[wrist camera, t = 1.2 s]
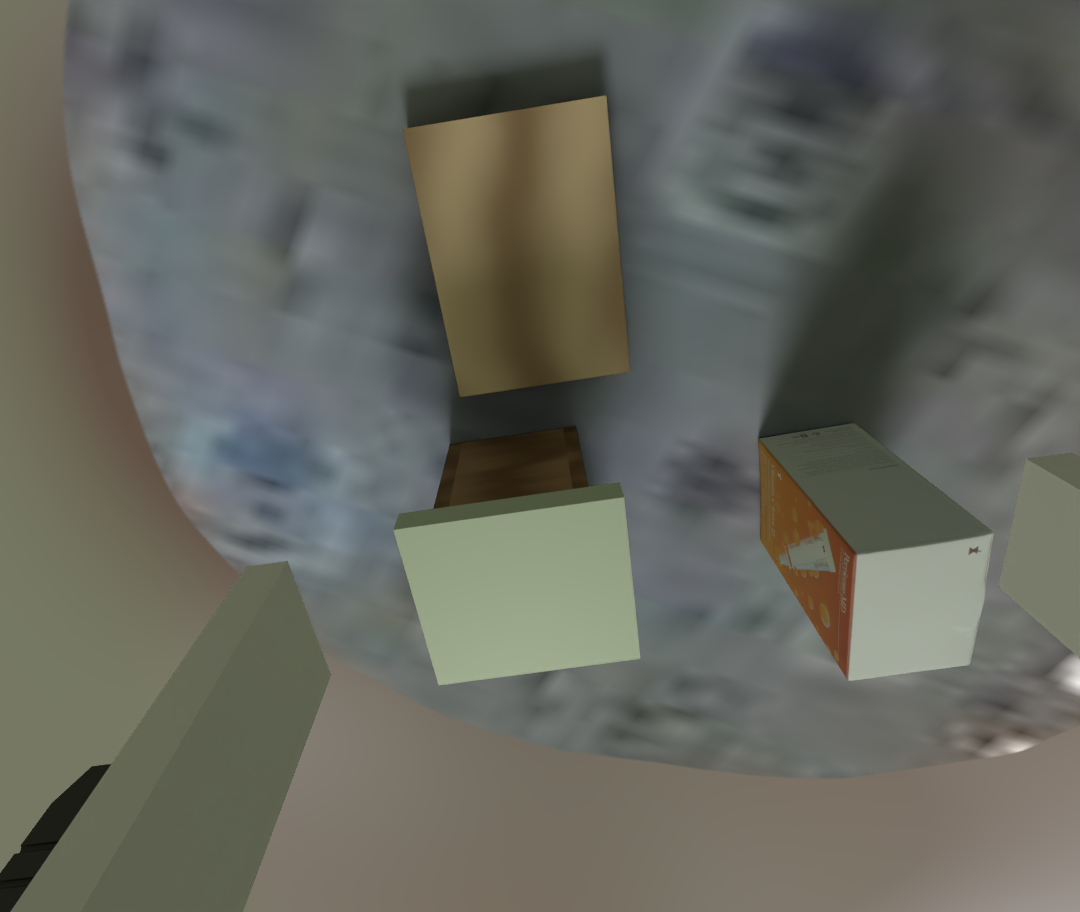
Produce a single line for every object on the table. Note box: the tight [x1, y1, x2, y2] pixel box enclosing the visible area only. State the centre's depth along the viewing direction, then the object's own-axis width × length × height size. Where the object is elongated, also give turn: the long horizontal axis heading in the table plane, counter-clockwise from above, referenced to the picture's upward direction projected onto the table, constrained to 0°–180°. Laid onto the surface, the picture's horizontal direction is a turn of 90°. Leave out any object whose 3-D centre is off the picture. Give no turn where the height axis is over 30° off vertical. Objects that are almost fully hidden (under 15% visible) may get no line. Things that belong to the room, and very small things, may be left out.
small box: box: [758, 423, 994, 681], centre depth 35 cm, size 8×6×13 cm
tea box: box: [434, 426, 588, 509], centre depth 37 cm, size 8×9×9 cm
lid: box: [394, 483, 640, 685], centre depth 33 cm, size 11×10×3 cm
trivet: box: [403, 95, 630, 397], centre depth 34 cm, size 10×14×2 cm
